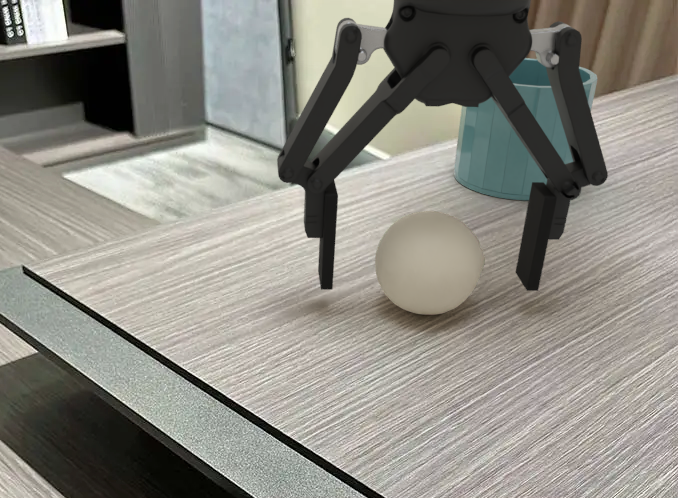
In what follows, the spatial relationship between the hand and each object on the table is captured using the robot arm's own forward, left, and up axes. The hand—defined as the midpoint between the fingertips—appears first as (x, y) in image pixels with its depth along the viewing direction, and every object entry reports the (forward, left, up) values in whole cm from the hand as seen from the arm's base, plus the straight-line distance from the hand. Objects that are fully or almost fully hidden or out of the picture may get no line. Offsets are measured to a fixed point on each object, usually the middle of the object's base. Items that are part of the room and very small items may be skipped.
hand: (426, 281), depth 55 cm
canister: (-13, -25, -2) cm, 28 cm away
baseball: (0, 0, -2) cm, 2 cm away
